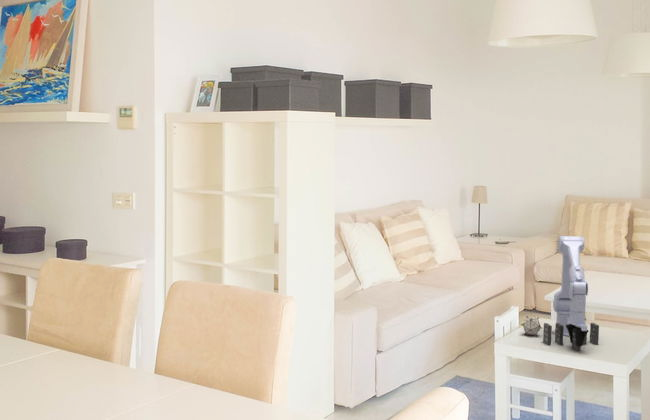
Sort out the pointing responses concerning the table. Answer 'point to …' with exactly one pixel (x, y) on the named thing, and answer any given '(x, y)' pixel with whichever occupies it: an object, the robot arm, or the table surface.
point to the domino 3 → (574, 342)
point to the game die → (531, 326)
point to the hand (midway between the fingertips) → (576, 344)
